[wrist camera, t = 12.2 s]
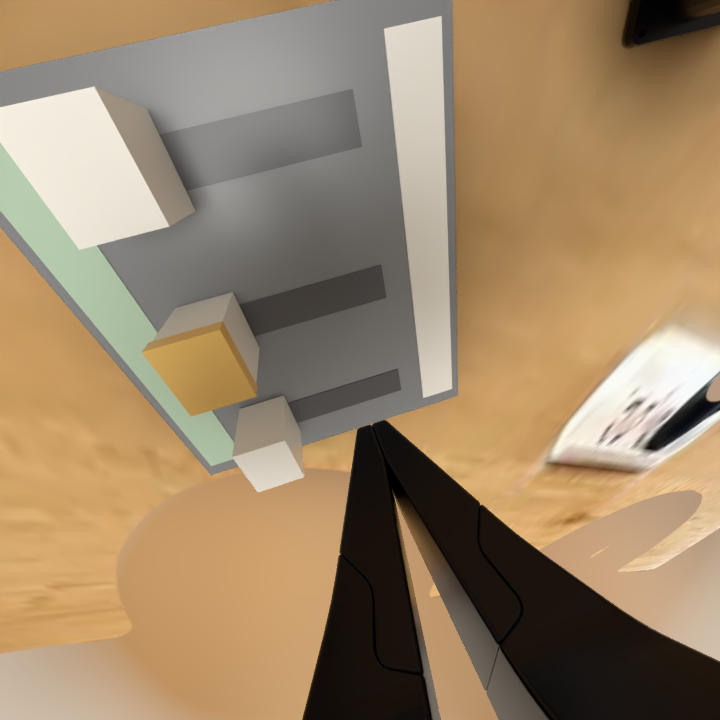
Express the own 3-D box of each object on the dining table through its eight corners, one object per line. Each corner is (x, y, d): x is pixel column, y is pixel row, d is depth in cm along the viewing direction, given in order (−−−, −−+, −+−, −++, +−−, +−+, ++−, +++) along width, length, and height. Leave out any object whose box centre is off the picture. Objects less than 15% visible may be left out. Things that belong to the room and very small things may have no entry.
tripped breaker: (233, 290, 16) (219, 329, 12) (260, 348, 18) (256, 396, 14) (173, 307, 15) (141, 352, 12) (209, 363, 18) (191, 416, 14)
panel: (434, -7, 13) (452, -26, 11) (449, 384, 25) (458, 396, 24) (-70, 102, 11) (-115, 94, 10) (214, 459, 24) (211, 476, 23)
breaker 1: (146, 108, 11) (94, 86, 8) (195, 211, 13) (169, 226, 10) (65, 126, 11) (-22, 112, 8) (128, 228, 13) (79, 250, 10)
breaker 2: (283, 395, 20) (284, 440, 17) (300, 430, 22) (304, 476, 19) (239, 408, 20) (232, 457, 17) (260, 443, 22) (257, 492, 19)
